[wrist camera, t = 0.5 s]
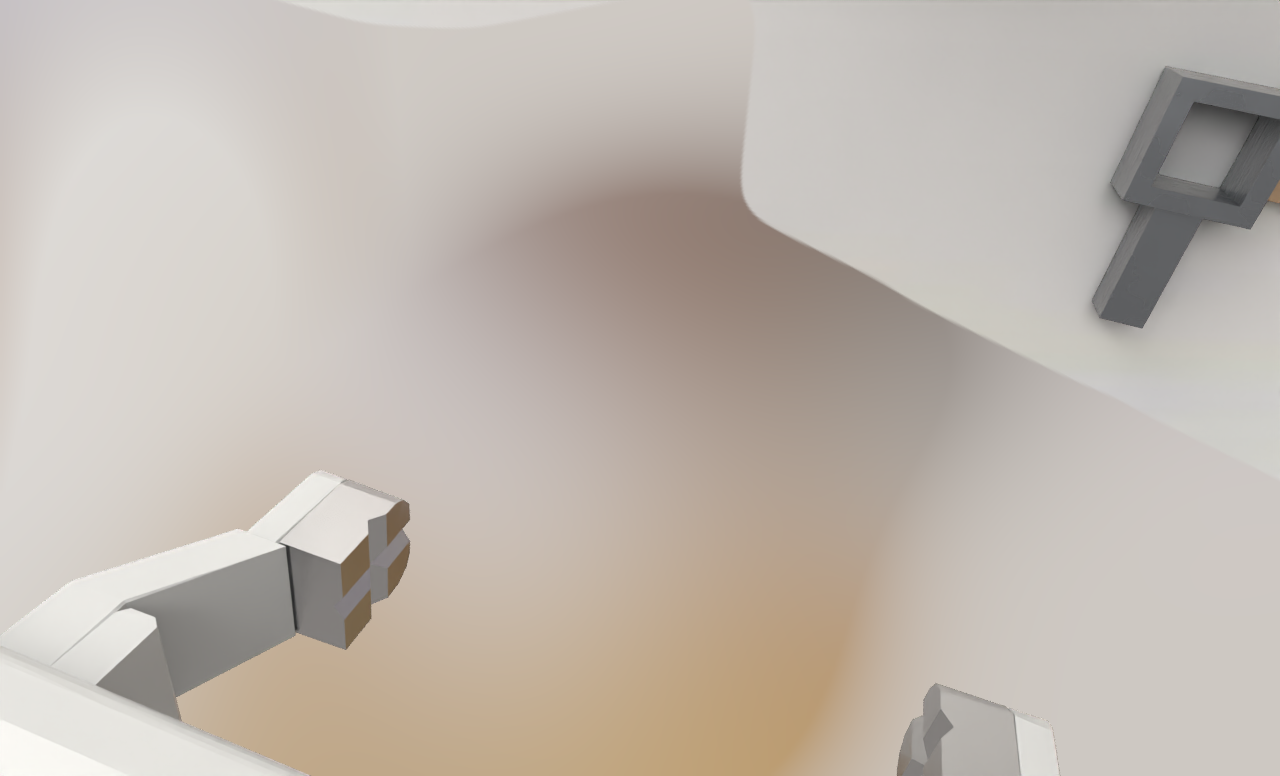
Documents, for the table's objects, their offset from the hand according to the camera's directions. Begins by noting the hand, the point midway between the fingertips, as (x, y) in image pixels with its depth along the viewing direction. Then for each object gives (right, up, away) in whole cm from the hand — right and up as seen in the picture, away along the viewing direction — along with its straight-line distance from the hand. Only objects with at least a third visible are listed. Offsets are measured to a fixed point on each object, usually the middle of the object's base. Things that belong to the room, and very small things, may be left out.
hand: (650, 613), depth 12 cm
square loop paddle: (+30, +14, +34) cm, 47 cm away
